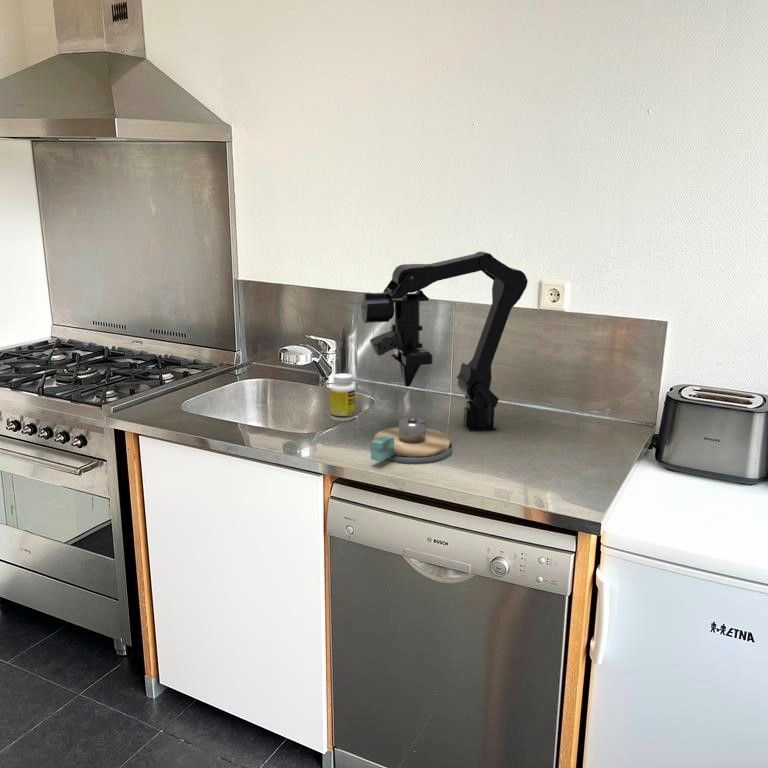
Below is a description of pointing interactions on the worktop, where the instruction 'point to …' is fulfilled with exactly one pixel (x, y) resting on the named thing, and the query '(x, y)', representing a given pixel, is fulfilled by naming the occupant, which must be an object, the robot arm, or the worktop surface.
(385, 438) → the turntable
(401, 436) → the cover
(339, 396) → the pill bottle
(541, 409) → the worktop surface
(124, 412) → the worktop surface
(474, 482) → the worktop surface
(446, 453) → the base
